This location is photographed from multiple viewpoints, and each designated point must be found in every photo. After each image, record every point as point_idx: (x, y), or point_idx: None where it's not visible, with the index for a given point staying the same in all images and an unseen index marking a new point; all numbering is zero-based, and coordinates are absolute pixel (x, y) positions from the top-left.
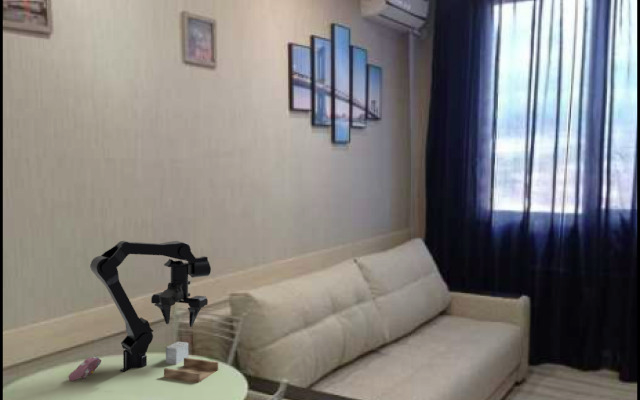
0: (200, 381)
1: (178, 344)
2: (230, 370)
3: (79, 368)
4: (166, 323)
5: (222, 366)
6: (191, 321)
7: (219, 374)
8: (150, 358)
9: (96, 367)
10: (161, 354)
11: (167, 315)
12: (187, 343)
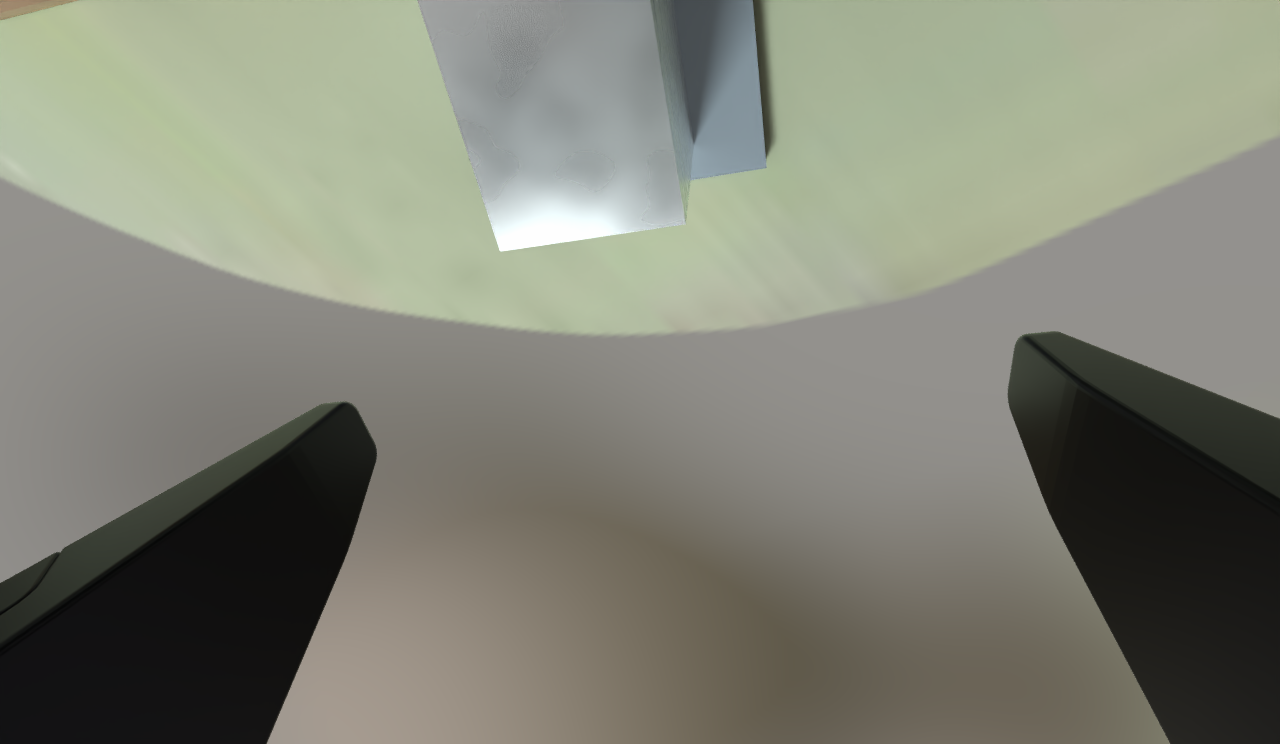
0: None
1: (551, 92)
2: (68, 191)
3: None
4: (1044, 334)
5: (217, 242)
6: (189, 479)
7: (4, 31)
8: (1088, 21)
9: None
10: (1023, 219)
11: (1161, 542)
12: (494, 226)
